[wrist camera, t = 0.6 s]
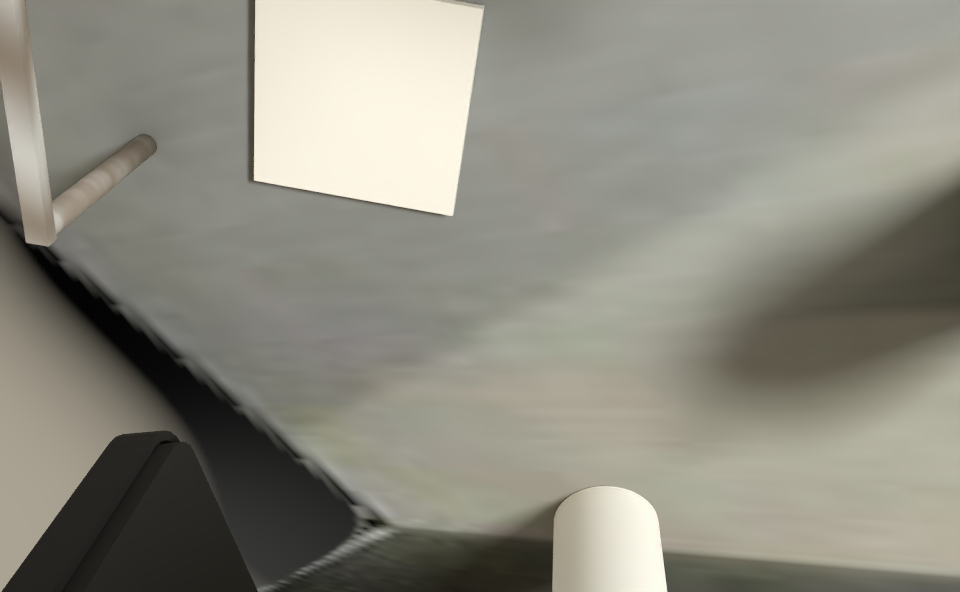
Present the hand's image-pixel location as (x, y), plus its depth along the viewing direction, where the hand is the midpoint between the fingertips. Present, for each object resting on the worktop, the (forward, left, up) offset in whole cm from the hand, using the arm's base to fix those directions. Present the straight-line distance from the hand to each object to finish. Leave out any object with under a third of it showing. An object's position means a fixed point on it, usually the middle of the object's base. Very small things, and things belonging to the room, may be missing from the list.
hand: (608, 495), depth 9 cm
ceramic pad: (+8, -10, -34) cm, 37 cm away
